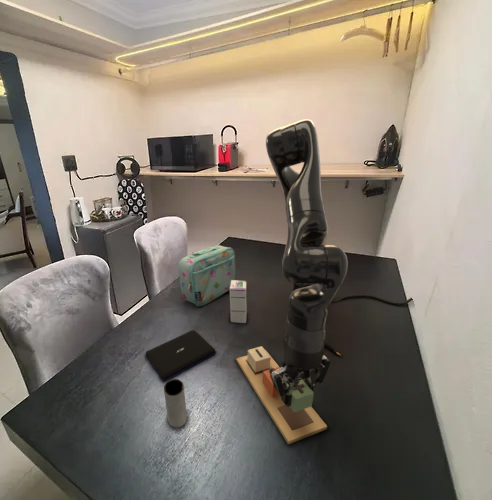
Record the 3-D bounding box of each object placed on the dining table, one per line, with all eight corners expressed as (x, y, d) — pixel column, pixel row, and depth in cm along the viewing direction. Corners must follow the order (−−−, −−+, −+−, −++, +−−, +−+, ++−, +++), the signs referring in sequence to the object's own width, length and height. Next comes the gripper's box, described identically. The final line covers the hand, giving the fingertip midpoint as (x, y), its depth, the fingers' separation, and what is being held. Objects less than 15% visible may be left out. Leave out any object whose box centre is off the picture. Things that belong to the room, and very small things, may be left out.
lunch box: (194, 313, 102) (191, 263, 94) (178, 303, 109) (173, 256, 101) (238, 287, 118) (238, 243, 110) (221, 280, 125) (220, 238, 117)
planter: (167, 410, 65) (163, 379, 61) (186, 408, 65) (183, 377, 61) (168, 429, 61) (163, 397, 57) (187, 426, 61) (184, 394, 57)
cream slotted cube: (261, 356, 78) (261, 345, 76) (269, 368, 74) (270, 356, 72) (247, 360, 77) (247, 349, 75) (255, 372, 72) (255, 360, 71)
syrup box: (246, 323, 94) (247, 288, 89) (229, 322, 95) (229, 287, 90) (246, 314, 99) (247, 280, 94) (230, 313, 101) (230, 279, 95)
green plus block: (298, 389, 62) (299, 375, 60) (312, 406, 58) (314, 392, 56) (281, 395, 61) (282, 381, 59) (294, 412, 56) (295, 398, 55)
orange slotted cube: (277, 377, 71) (278, 366, 69) (288, 391, 67) (289, 379, 65) (262, 382, 70) (263, 370, 68) (272, 397, 65) (273, 384, 64)
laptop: (143, 348, 86) (142, 343, 85) (198, 330, 93) (198, 325, 92) (156, 385, 72) (156, 380, 71) (220, 360, 79) (220, 355, 78)
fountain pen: (342, 357, 77) (343, 353, 77) (339, 358, 77) (340, 354, 76) (304, 329, 89) (304, 325, 89) (301, 330, 89) (302, 326, 88)
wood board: (265, 352, 81) (265, 349, 80) (326, 429, 58) (327, 425, 58) (235, 360, 78) (235, 357, 78) (288, 444, 56) (288, 441, 56)
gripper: (284, 361, 48) (278, 425, 54) (347, 341, 51) (335, 404, 57) (262, 335, 54) (259, 395, 61) (319, 319, 58) (311, 377, 64)
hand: (296, 399), depth 59 cm, fingers closed on green plus block, 4 cm apart
